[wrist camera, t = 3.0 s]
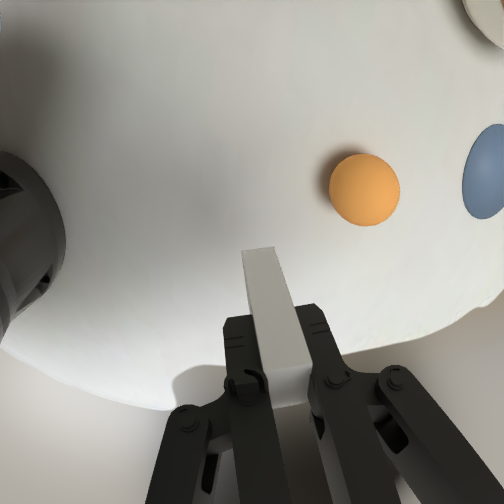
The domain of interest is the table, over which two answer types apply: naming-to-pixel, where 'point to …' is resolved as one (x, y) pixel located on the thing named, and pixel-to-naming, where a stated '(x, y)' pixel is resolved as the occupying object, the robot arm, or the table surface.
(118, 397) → the table surface
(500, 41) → the lidded jar
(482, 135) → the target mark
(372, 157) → the ball
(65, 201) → the table surface
